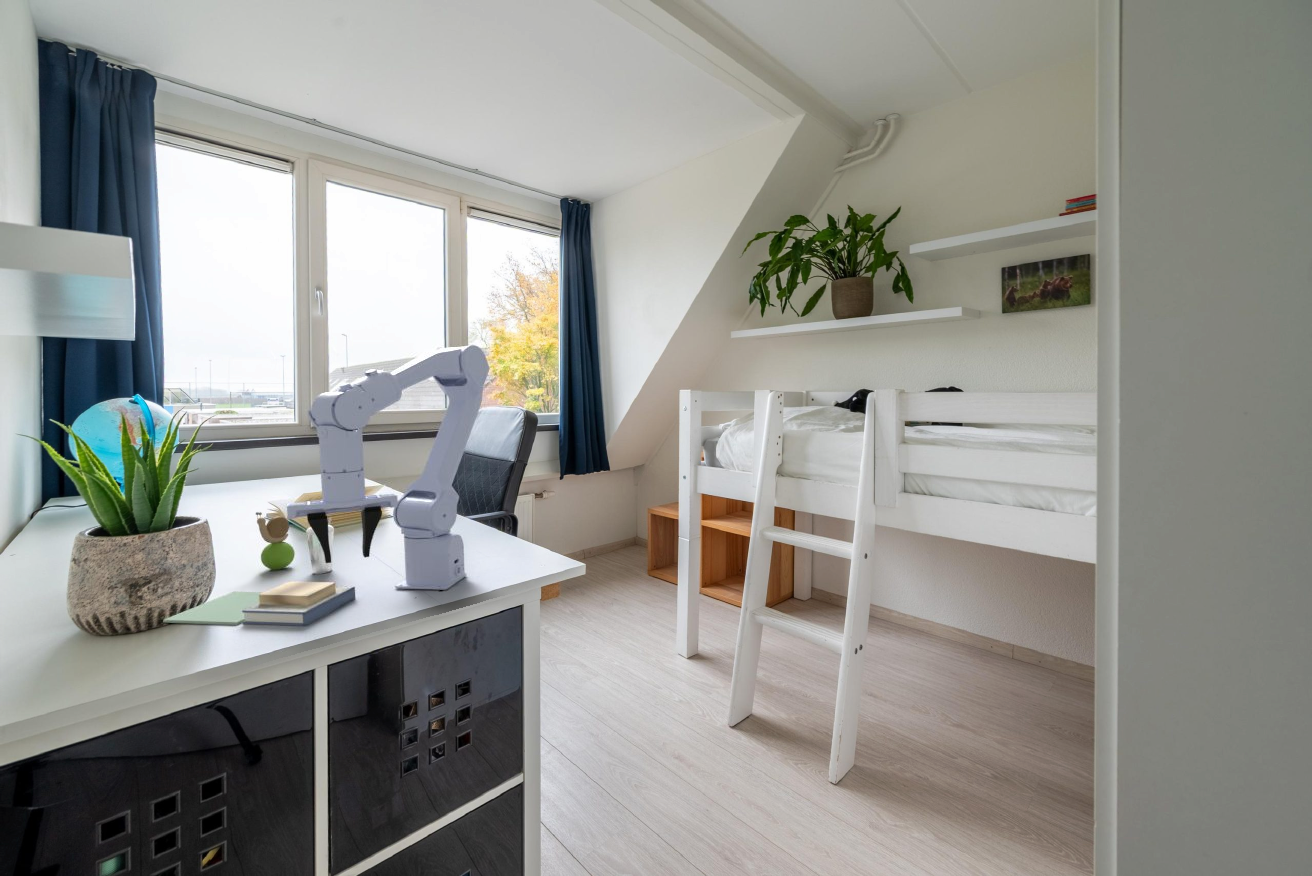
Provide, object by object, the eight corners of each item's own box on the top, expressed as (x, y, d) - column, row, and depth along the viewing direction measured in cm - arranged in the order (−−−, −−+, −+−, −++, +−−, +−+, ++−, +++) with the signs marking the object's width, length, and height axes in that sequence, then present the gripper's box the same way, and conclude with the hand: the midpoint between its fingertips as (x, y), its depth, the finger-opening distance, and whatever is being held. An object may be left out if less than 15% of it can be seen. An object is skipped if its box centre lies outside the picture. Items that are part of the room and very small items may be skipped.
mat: (299, 595, 91) (299, 593, 91) (236, 624, 79) (236, 622, 79) (234, 593, 92) (234, 591, 92) (163, 622, 81) (163, 619, 80)
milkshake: (344, 566, 107) (341, 516, 106) (325, 575, 102) (322, 523, 101) (322, 566, 108) (320, 516, 107) (302, 575, 102) (299, 522, 101)
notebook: (355, 598, 90) (354, 586, 89) (305, 625, 79) (304, 612, 78) (299, 596, 91) (299, 585, 90) (242, 623, 80) (242, 610, 80)
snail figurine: (249, 574, 103) (245, 512, 102) (279, 564, 109) (276, 505, 109) (273, 575, 102) (269, 512, 101) (302, 565, 108) (298, 506, 107)
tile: (335, 591, 87) (335, 582, 87) (308, 605, 81) (307, 595, 81) (290, 590, 88) (289, 581, 88) (259, 604, 82) (258, 594, 82)
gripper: (391, 464, 90) (394, 545, 91) (285, 472, 81) (290, 560, 82) (398, 468, 84) (402, 554, 85) (285, 477, 76) (290, 572, 77)
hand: (347, 558), depth 83 cm, fingers open, 4 cm apart
